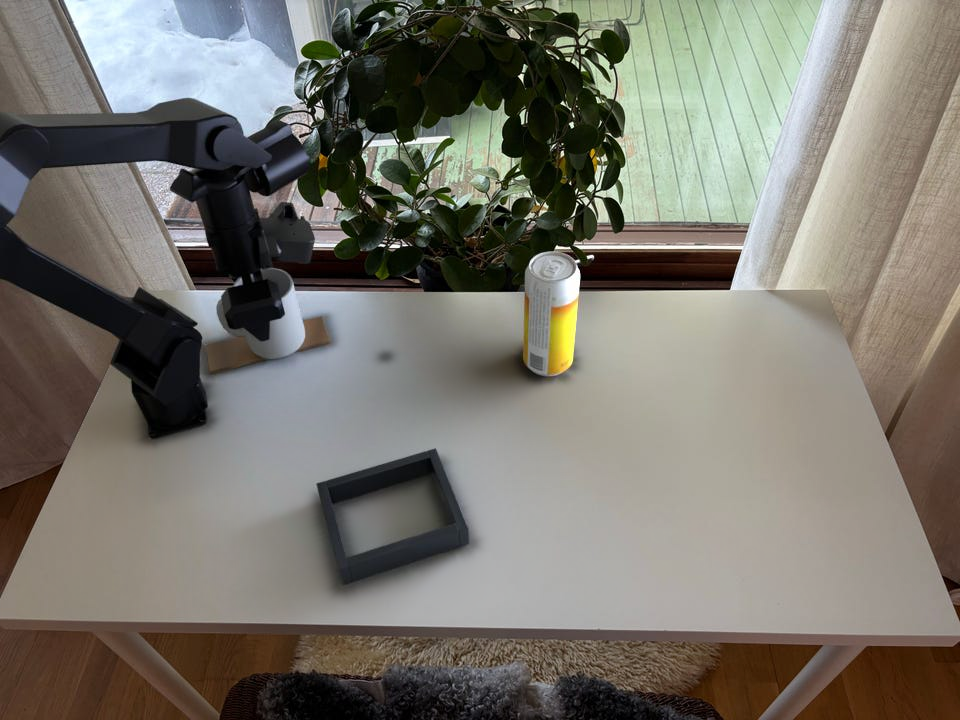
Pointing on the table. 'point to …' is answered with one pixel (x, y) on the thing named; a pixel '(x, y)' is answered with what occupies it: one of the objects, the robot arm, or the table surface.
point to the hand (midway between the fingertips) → (260, 320)
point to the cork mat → (240, 353)
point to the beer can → (550, 312)
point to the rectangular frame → (402, 549)
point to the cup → (283, 331)
